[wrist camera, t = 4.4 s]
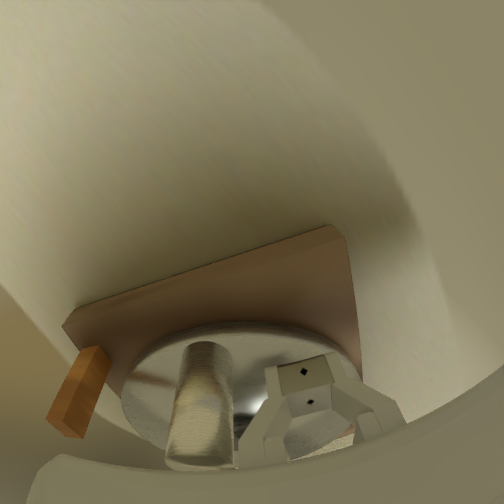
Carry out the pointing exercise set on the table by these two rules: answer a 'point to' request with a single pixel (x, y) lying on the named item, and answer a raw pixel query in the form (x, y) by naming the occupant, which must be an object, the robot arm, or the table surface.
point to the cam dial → (221, 391)
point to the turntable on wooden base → (210, 314)
